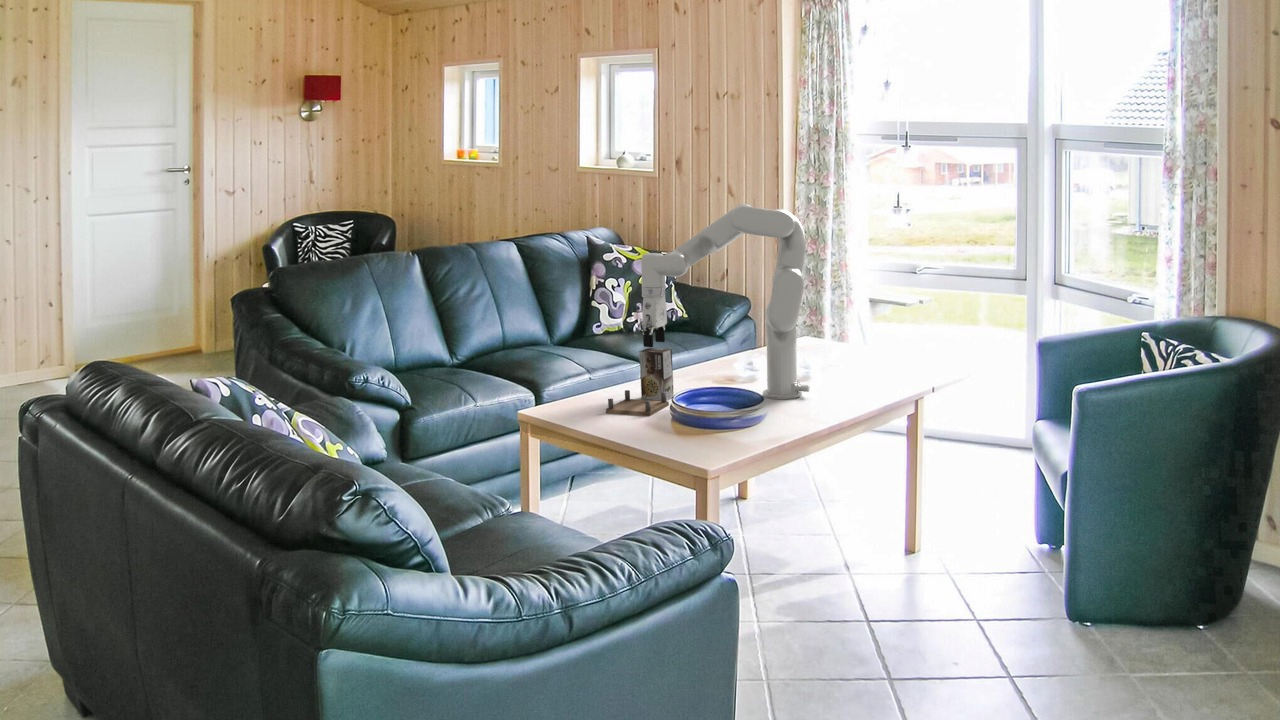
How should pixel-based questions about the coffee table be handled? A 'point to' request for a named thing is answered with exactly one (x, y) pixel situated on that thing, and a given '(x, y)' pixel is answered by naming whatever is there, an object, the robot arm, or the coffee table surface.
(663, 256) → the robot arm
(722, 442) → the coffee table surface
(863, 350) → the coffee table surface
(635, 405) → the stub cradle
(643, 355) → the coffee box
